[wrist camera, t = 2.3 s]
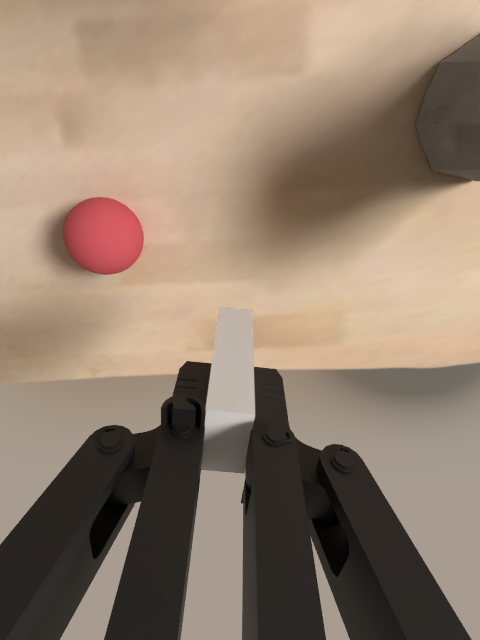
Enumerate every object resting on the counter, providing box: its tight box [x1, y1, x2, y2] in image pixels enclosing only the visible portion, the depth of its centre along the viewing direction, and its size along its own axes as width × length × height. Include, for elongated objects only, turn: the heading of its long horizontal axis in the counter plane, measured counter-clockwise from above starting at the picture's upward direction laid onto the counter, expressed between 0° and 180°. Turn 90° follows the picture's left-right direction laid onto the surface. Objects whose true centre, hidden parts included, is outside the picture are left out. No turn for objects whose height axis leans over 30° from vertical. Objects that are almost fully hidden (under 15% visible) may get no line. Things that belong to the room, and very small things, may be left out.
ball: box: [63, 197, 144, 275], centre depth 26 cm, size 6×6×6 cm
